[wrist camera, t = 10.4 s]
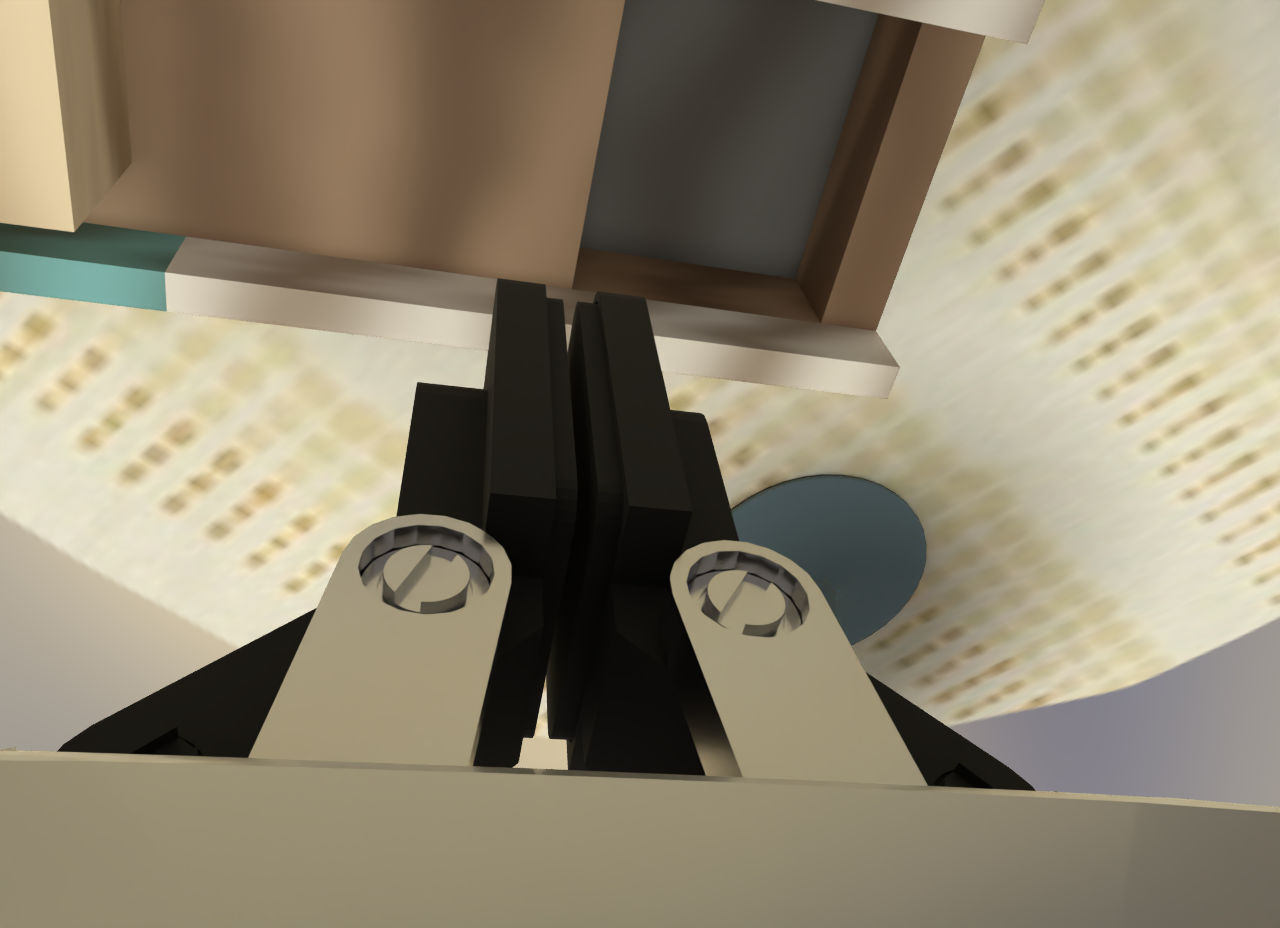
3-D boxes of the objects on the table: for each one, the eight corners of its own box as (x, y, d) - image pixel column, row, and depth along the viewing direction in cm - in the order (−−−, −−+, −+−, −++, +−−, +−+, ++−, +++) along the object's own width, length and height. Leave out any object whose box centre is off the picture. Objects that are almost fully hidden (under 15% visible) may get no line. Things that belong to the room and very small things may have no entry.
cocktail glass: (880, 317, 39) (1300, 933, 19) (1065, 575, 49) (1478, 1172, 28) (524, 566, 44) (557, 1265, 24) (754, 757, 54) (917, 1375, 33)
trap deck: (957, -57, 32) (1050, -16, 27) (830, 316, 39) (884, 407, 34) (-231, -330, 25) (-422, -347, 20) (-124, 183, 32) (-243, 271, 27)
